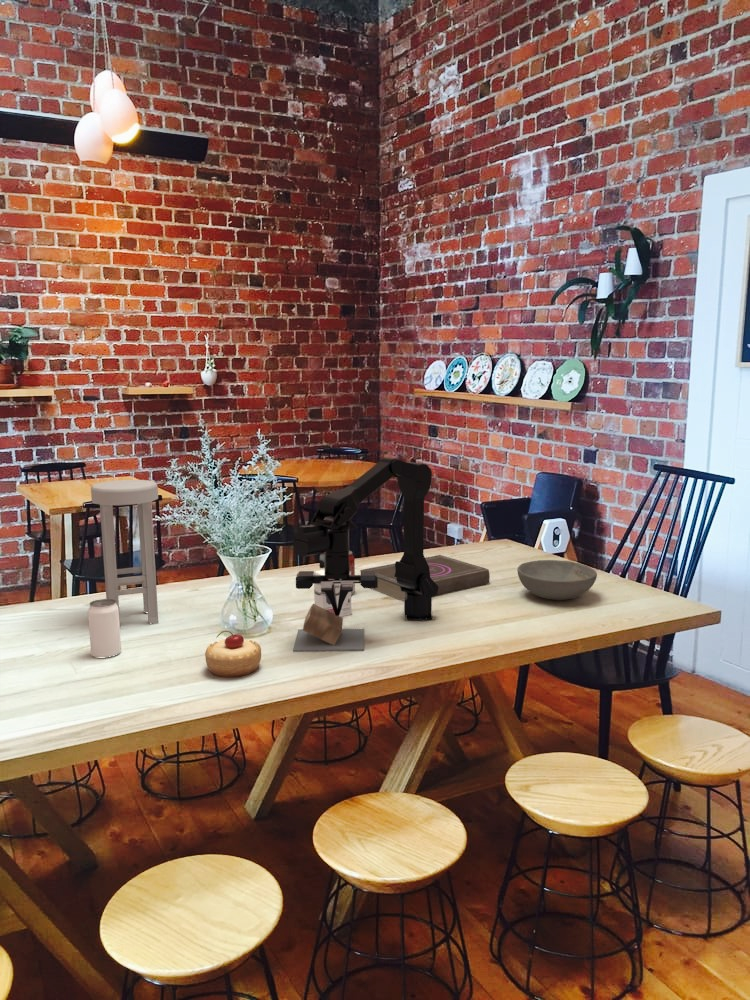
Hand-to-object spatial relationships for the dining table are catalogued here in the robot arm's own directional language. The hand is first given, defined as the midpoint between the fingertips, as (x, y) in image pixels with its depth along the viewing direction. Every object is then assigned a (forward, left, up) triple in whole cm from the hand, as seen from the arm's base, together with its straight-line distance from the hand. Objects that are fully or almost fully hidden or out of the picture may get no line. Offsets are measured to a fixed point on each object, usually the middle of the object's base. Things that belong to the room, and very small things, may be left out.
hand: (337, 615), depth 185 cm
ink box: (+2, -19, -6) cm, 20 cm away
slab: (0, 0, -4) cm, 4 cm away
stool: (+53, -17, -6) cm, 56 cm away
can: (+52, +7, -6) cm, 53 cm away
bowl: (-59, -33, -6) cm, 68 cm away
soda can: (0, -38, -6) cm, 39 cm away
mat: (+2, 0, -6) cm, 6 cm away
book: (-24, -47, -7) cm, 53 cm away
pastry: (+22, +17, -7) cm, 28 cm away
